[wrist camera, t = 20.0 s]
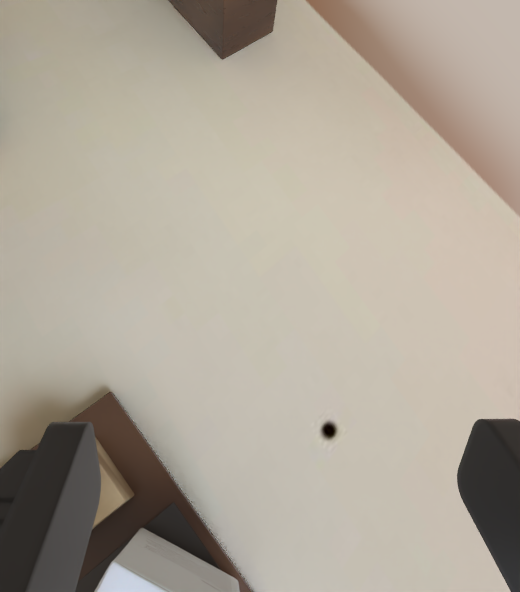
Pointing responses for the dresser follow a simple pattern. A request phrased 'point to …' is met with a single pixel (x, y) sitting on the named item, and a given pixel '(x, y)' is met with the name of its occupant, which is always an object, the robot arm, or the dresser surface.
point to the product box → (162, 569)
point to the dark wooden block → (229, 21)
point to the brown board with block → (138, 499)
